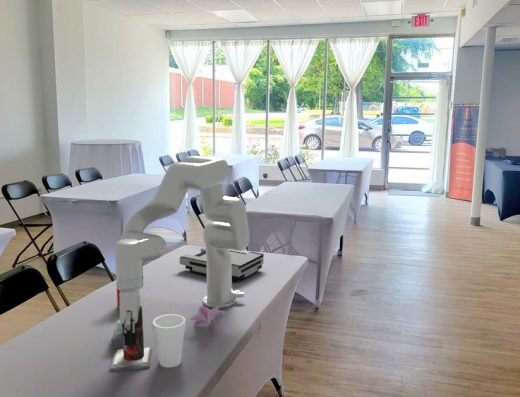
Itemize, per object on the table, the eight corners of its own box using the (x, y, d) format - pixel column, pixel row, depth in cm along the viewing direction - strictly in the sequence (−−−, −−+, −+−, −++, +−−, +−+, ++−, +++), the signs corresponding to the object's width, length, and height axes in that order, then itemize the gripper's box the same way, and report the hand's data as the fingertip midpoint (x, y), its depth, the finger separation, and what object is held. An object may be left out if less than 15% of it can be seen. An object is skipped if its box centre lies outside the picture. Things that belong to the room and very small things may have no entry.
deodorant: (148, 353, 147) (146, 306, 144) (136, 362, 142) (134, 314, 139) (131, 349, 149) (129, 303, 146) (119, 358, 144) (116, 311, 141)
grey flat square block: (152, 349, 151) (151, 344, 151) (149, 368, 141) (149, 362, 140) (115, 351, 150) (115, 346, 149) (109, 370, 139) (109, 365, 139)
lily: (232, 329, 168) (225, 301, 170) (224, 330, 156) (217, 301, 159) (199, 338, 169) (192, 311, 171) (189, 340, 157) (182, 311, 160)
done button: (131, 325, 157) (131, 318, 157) (130, 331, 153) (130, 324, 153) (117, 326, 157) (117, 319, 156) (115, 332, 153) (115, 325, 152)
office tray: (207, 259, 240) (207, 243, 239) (263, 271, 224) (263, 254, 223) (180, 271, 223) (179, 254, 221) (238, 285, 207) (238, 266, 205)
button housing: (137, 336, 160) (136, 327, 159) (134, 346, 153) (134, 337, 152) (115, 337, 159) (114, 329, 158) (111, 348, 152) (111, 339, 151)
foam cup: (156, 354, 148) (155, 314, 146) (187, 353, 149) (186, 313, 147) (152, 371, 139) (150, 328, 137) (185, 369, 140) (184, 327, 137)
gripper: (120, 272, 148) (123, 324, 152) (111, 293, 132) (115, 352, 135) (145, 271, 150) (147, 323, 153) (140, 292, 133) (142, 350, 136)
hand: (132, 336), depth 144 cm, fingers open, 9 cm apart
